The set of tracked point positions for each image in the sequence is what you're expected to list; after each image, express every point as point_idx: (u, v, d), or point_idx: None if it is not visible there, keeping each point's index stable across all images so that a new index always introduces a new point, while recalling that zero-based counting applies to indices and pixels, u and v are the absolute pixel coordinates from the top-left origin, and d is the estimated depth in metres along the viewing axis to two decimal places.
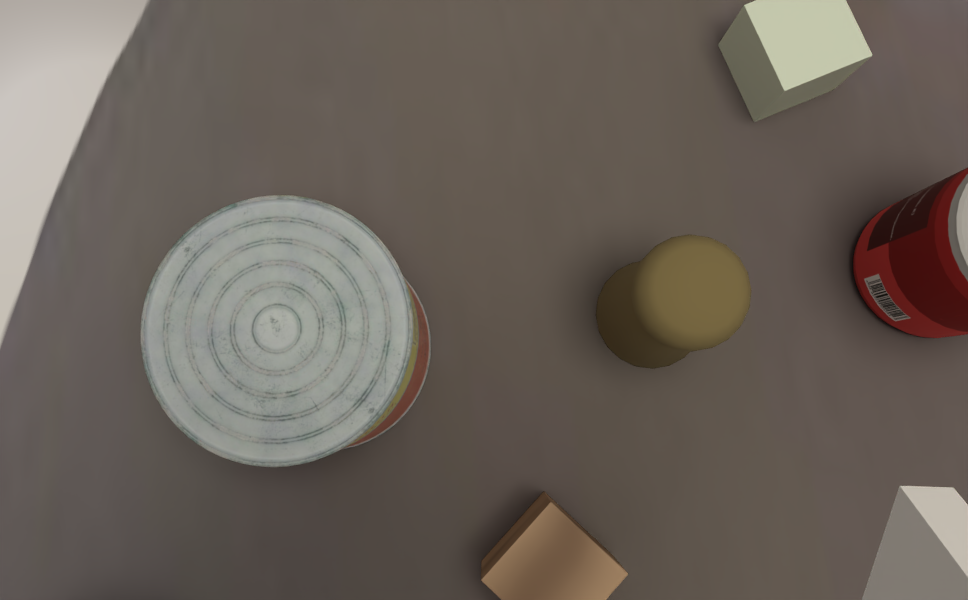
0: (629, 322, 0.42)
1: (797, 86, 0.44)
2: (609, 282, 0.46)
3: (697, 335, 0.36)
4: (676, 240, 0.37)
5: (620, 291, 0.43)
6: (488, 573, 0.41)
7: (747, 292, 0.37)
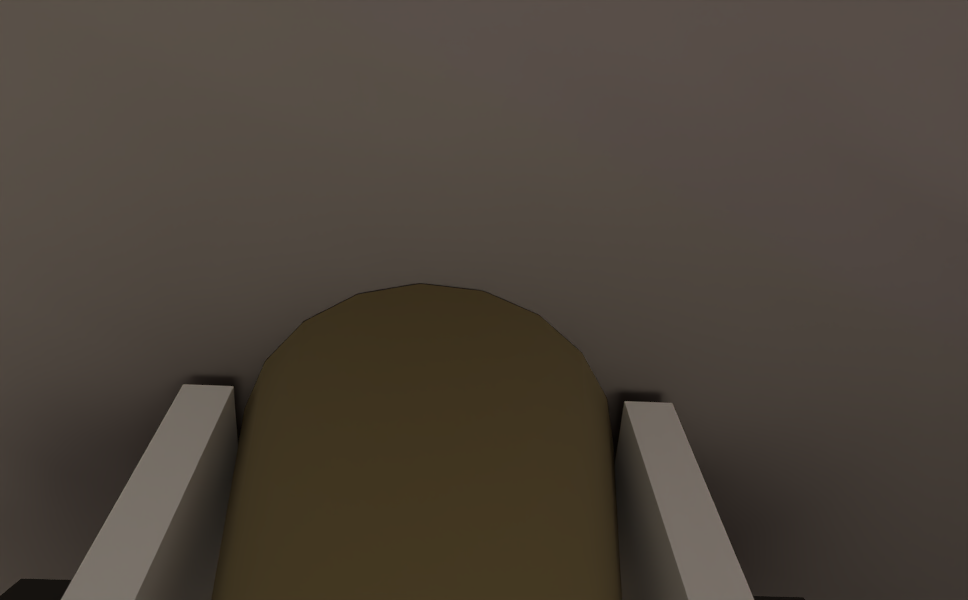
0: None
1: None
2: None
3: None
4: None
5: None
6: None
7: None
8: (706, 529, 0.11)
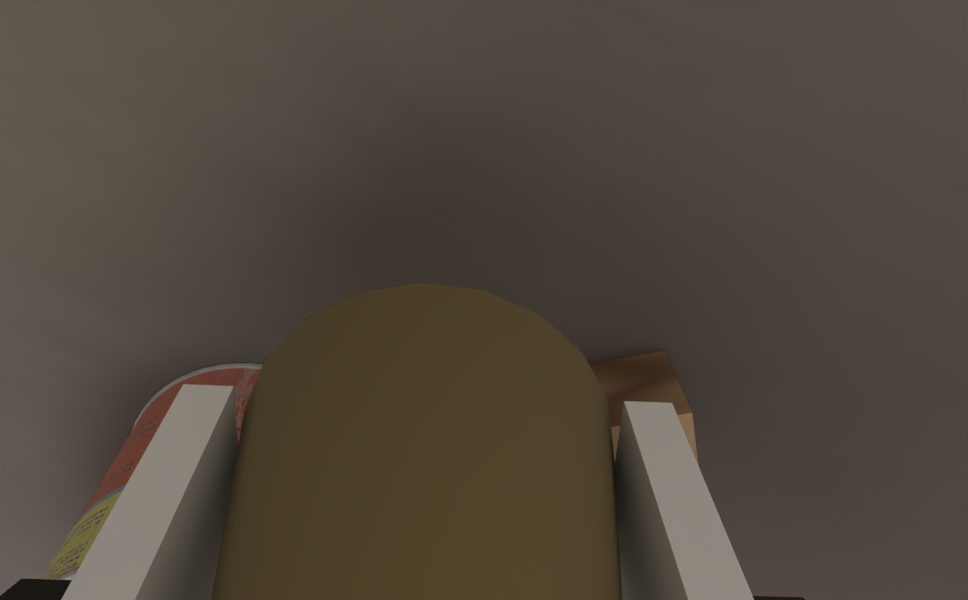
0: None
1: None
2: None
3: None
4: None
5: None
6: None
7: None
8: (706, 529, 0.11)
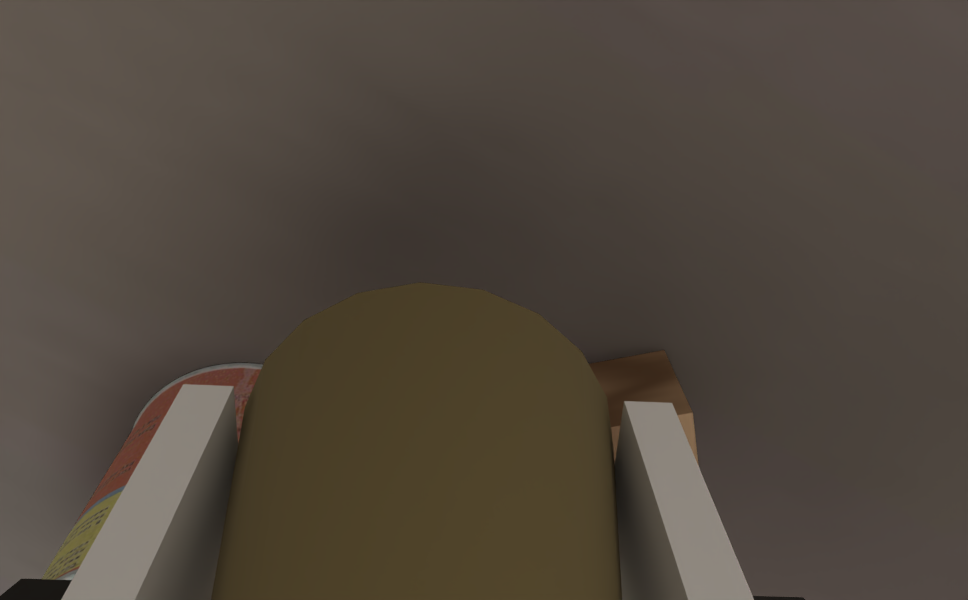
0: None
1: None
2: None
3: None
4: None
5: None
6: None
7: None
8: (706, 529, 0.11)
